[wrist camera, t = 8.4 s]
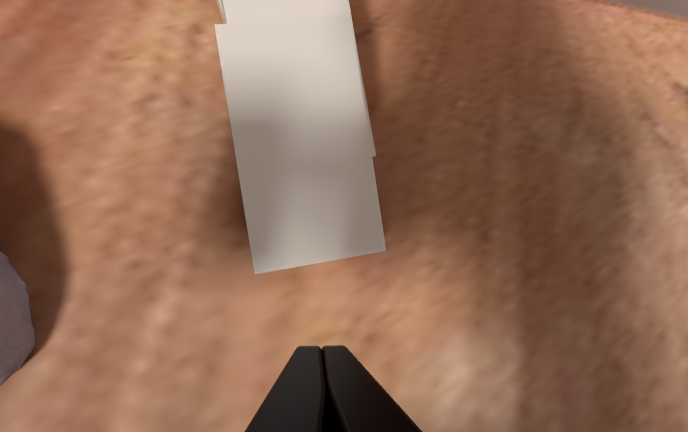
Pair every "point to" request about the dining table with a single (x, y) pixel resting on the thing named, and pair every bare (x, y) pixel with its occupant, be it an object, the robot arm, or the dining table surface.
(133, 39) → the dining table surface
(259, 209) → the domino
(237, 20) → the domino
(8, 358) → the stone block
